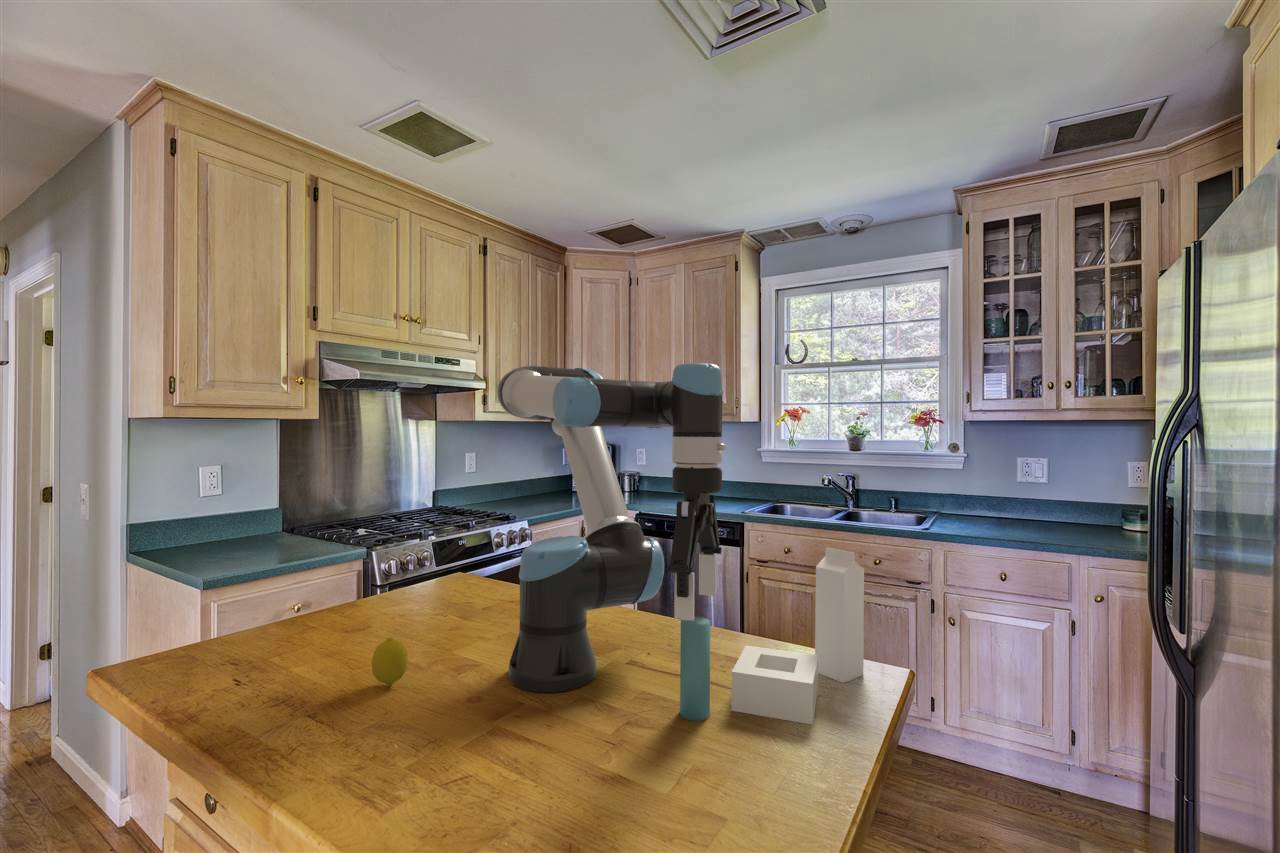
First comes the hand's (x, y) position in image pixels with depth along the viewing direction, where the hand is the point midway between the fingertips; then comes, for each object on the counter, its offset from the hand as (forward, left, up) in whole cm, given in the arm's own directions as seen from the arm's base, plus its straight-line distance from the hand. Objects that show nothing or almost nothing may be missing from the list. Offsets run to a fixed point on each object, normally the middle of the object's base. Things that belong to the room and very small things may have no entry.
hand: (696, 606), depth 91 cm
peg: (0, 0, -16) cm, 16 cm away
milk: (+20, +24, -17) cm, 35 cm away
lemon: (-50, -9, -17) cm, 54 cm away
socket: (+11, +9, -16) cm, 22 cm away
